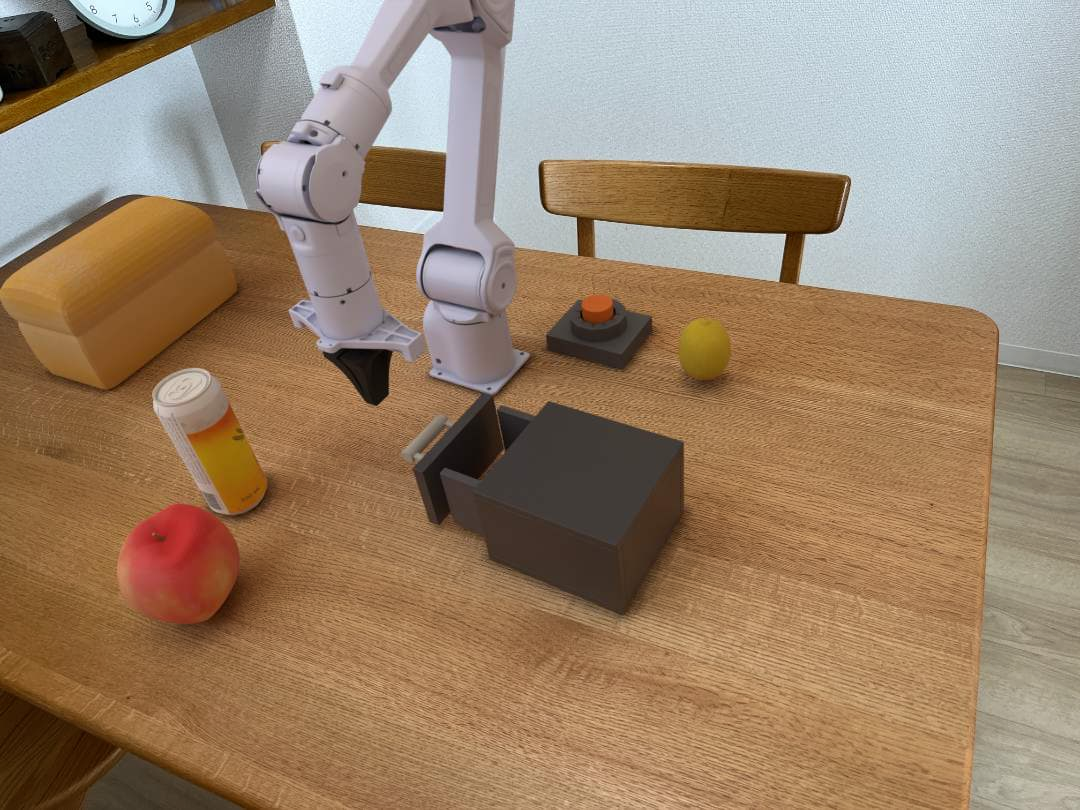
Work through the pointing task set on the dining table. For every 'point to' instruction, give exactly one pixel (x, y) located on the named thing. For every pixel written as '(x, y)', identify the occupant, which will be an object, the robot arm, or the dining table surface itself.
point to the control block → (600, 335)
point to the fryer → (583, 503)
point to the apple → (178, 565)
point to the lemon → (704, 349)
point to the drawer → (462, 458)
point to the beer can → (210, 440)
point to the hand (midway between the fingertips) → (377, 398)
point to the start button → (597, 309)
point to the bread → (120, 290)
